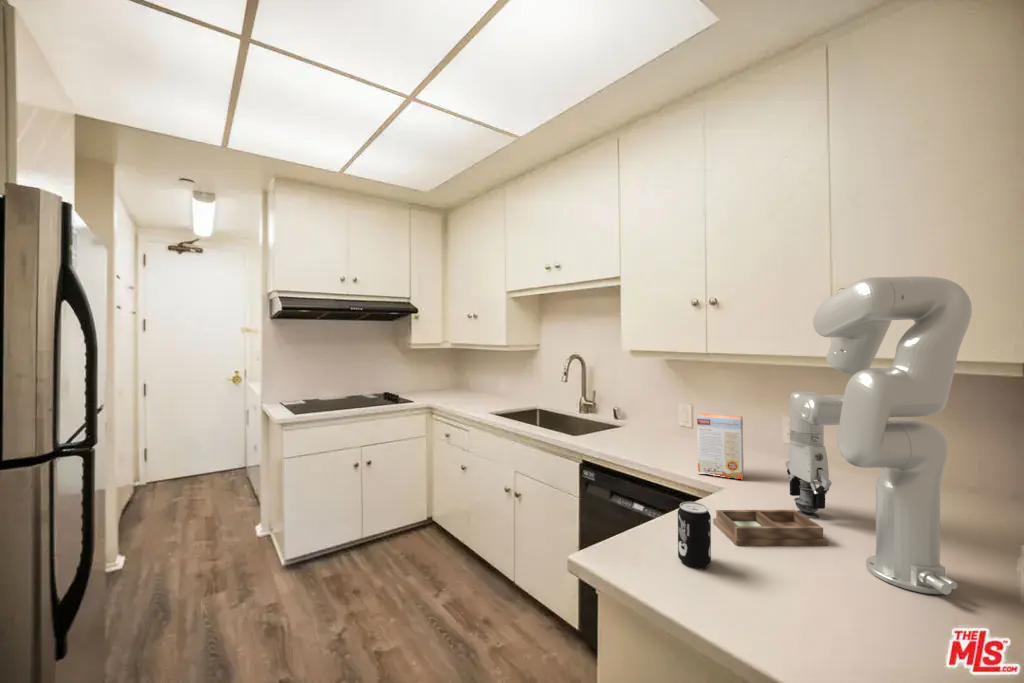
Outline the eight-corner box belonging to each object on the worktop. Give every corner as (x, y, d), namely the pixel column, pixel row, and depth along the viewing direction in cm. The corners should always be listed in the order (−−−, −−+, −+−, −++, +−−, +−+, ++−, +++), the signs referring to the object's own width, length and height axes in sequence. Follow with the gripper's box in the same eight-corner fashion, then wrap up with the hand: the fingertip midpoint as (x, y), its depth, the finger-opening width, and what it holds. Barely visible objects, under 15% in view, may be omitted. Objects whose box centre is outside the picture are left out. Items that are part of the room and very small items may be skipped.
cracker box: (743, 476, 148) (743, 415, 148) (742, 481, 143) (742, 418, 143) (700, 469, 155) (699, 412, 155) (697, 474, 150) (696, 415, 150)
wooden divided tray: (794, 522, 111) (794, 508, 111) (827, 545, 99) (827, 529, 99) (713, 523, 112) (712, 508, 112) (736, 545, 100) (736, 529, 100)
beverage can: (708, 573, 88) (708, 515, 88) (675, 564, 92) (674, 508, 92) (712, 558, 94) (712, 504, 94) (681, 551, 97) (680, 498, 97)
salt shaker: (824, 520, 113) (824, 474, 112) (799, 518, 114) (799, 473, 114) (813, 511, 118) (813, 467, 118) (790, 509, 119) (789, 466, 119)
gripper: (845, 445, 107) (845, 515, 107) (799, 430, 124) (799, 489, 125) (814, 446, 107) (814, 515, 107) (773, 430, 125) (773, 490, 125)
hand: (806, 501), depth 116 cm, fingers open, 8 cm apart
